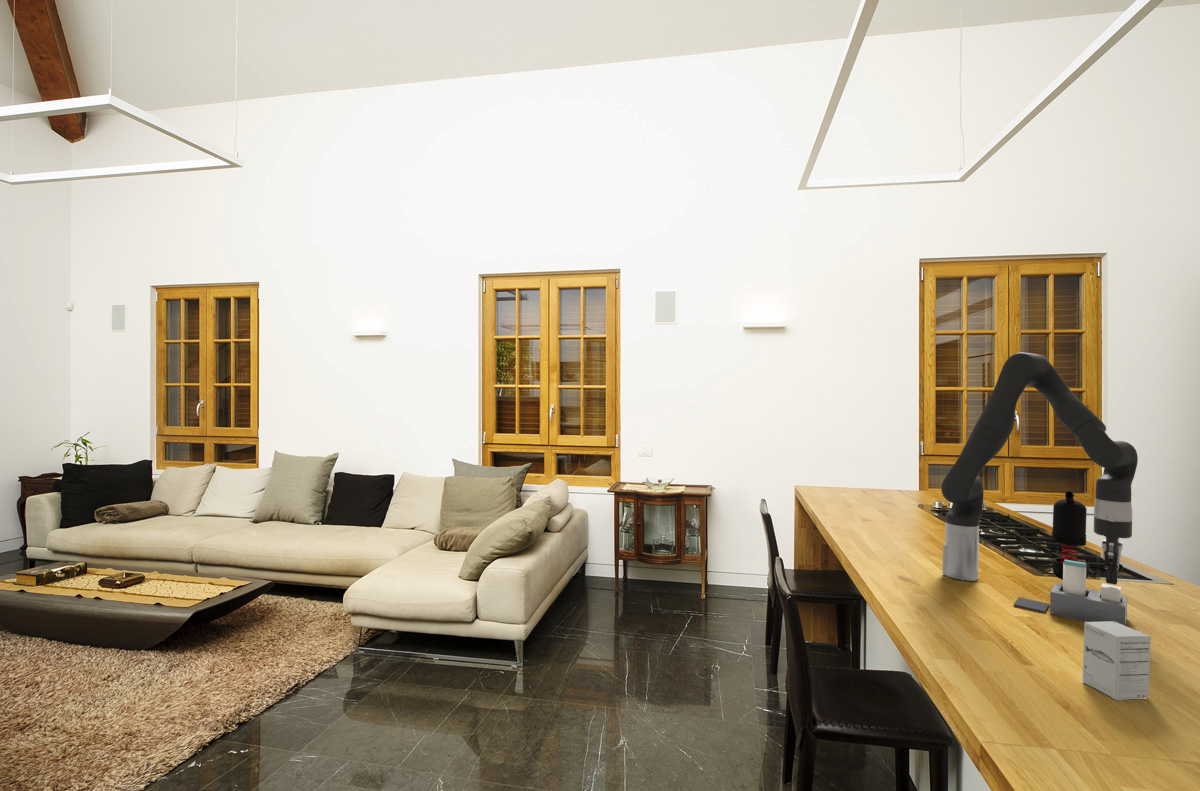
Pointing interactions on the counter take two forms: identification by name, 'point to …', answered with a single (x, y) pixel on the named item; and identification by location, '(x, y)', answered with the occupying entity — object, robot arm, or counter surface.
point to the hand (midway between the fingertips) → (1111, 583)
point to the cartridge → (1074, 577)
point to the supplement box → (1116, 660)
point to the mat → (1031, 605)
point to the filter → (1068, 529)
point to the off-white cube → (1111, 592)
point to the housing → (1087, 606)
